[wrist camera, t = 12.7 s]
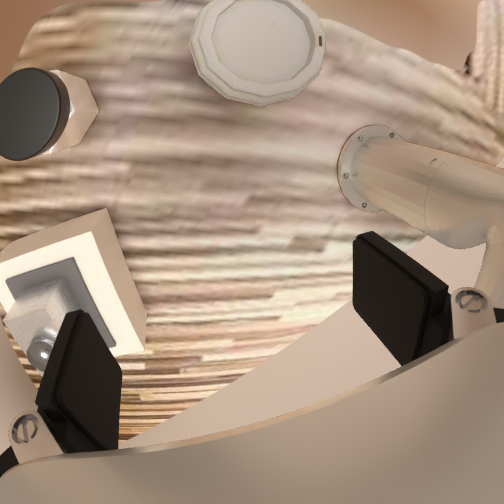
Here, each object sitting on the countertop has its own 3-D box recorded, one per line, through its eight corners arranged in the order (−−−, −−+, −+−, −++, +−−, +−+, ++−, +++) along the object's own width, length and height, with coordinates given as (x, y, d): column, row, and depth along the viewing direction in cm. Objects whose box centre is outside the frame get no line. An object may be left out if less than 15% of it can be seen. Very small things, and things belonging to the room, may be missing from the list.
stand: (106, 207, 34) (89, 233, 27) (147, 312, 42) (144, 353, 34) (10, 242, 32) (-19, 272, 25) (57, 333, 39) (43, 372, 32)
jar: (61, 65, 25) (16, 49, 15) (111, 95, 29) (81, 86, 18) (24, 129, 27) (-29, 141, 17) (71, 160, 31) (30, 182, 20)
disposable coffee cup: (185, 112, 32) (191, 108, 19) (183, 27, 27) (190, -26, 14) (274, 108, 34) (334, 108, 21) (273, 27, 29) (329, -14, 16)
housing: (63, 276, 28) (40, 317, 21) (97, 340, 32) (88, 386, 25) (23, 289, 27) (-3, 329, 20) (58, 348, 31) (45, 392, 25)
